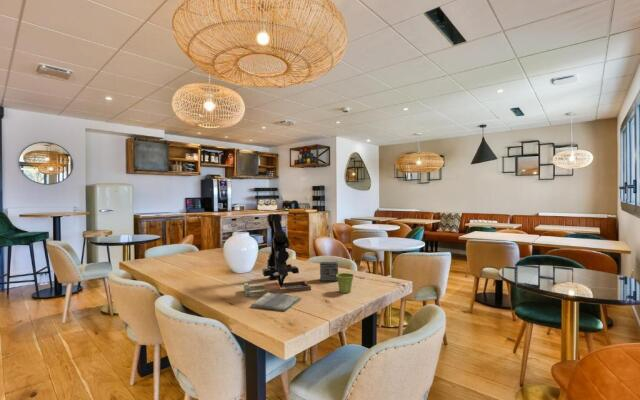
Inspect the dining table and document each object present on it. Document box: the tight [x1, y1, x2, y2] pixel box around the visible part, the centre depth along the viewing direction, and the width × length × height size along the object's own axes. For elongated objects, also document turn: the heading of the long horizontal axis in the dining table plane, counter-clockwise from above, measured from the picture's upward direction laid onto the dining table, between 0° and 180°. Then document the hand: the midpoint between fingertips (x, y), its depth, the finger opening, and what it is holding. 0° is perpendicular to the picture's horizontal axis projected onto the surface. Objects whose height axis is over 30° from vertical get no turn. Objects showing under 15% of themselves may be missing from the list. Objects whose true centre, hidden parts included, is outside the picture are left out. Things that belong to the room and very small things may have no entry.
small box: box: [319, 261, 339, 283], centre depth 189 cm, size 11×6×10 cm, turn 84°
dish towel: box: [250, 292, 302, 313], centre depth 150 cm, size 19×18×3 cm
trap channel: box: [243, 280, 312, 298], centre depth 170 cm, size 12×34×4 cm, turn 109°
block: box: [263, 281, 281, 291], centre depth 168 cm, size 7×7×4 cm
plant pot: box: [336, 272, 355, 294], centre depth 166 cm, size 9×9×9 cm
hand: (280, 287), depth 170 cm, fingers closed
